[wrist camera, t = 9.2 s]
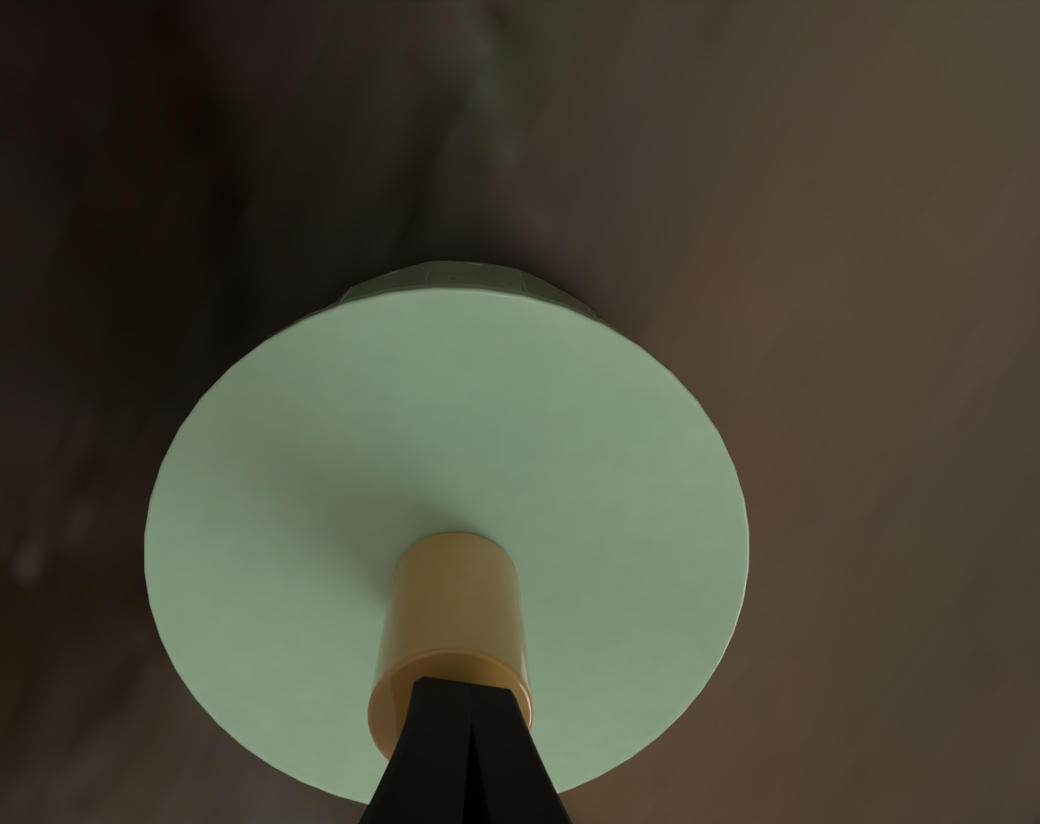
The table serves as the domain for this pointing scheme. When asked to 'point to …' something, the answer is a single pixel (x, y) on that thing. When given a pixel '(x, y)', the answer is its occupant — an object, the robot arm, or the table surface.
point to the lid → (445, 533)
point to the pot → (465, 280)
